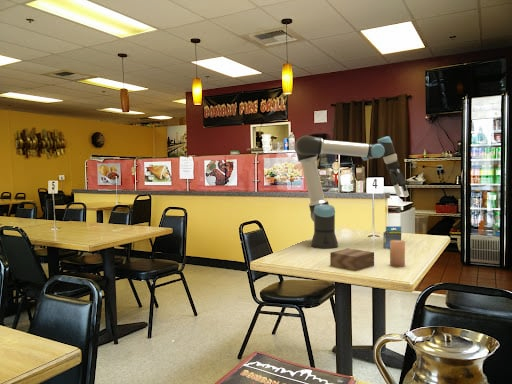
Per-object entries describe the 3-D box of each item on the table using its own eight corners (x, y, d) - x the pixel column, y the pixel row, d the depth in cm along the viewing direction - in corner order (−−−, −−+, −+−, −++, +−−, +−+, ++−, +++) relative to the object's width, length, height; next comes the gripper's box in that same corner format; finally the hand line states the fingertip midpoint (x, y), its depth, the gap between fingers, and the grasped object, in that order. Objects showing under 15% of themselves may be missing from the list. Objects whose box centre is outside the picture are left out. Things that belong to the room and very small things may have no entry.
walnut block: (330, 265, 189) (330, 252, 188) (348, 260, 198) (348, 248, 198) (356, 270, 179) (356, 257, 178) (374, 265, 188) (374, 252, 188)
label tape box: (398, 247, 232) (398, 225, 232) (401, 248, 228) (401, 226, 228) (383, 247, 232) (383, 225, 232) (385, 248, 228) (385, 226, 228)
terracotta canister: (387, 265, 188) (387, 241, 188) (394, 262, 193) (394, 239, 192) (400, 267, 184) (400, 242, 183) (407, 265, 188) (407, 241, 188)
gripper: (404, 159, 235) (416, 194, 235) (391, 160, 260) (402, 192, 260) (392, 163, 235) (403, 198, 236) (379, 164, 260) (390, 196, 261)
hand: (402, 195), depth 248 cm, fingers open, 13 cm apart
